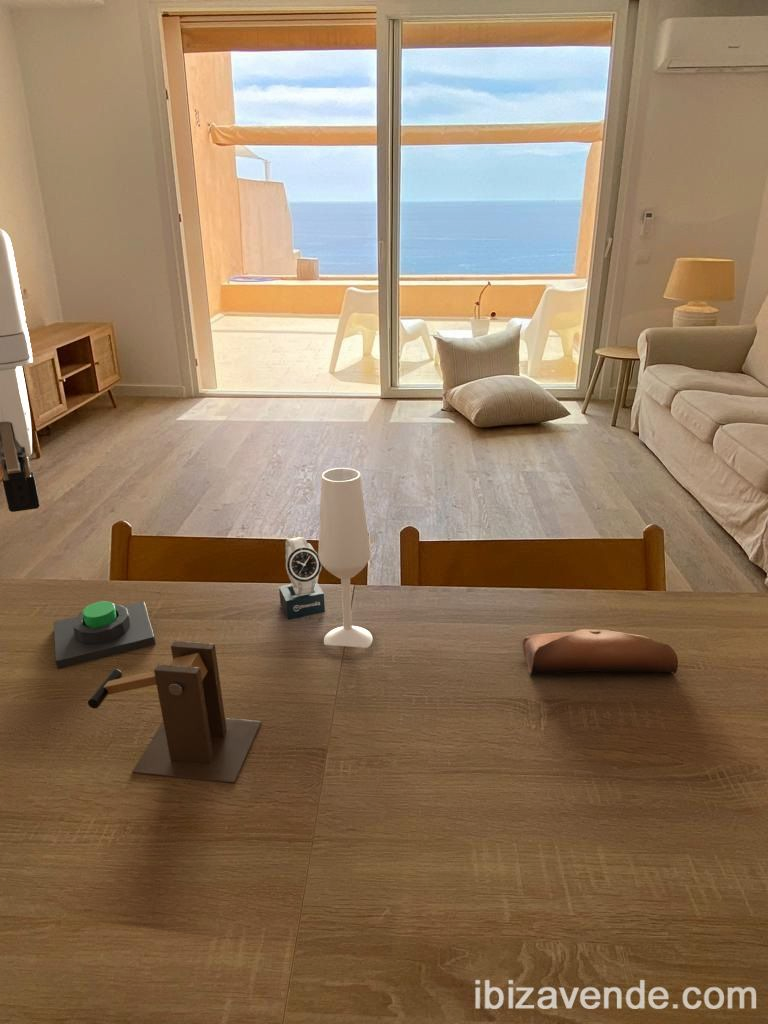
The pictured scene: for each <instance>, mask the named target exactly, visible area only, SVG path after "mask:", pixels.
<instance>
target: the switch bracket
mask: <svg viewBox="0 0 768 1024" xmlns="http://www.w3.org/2000/svg"><path fill="white" fill-rule="evenodd" d="M170 649H171V656H172V661H173V660H174V659H175V658H177V657H181V656H186V655H191V654H195V653H199V655H200V657H201V659H202V661H203V663H204V665H205V667H206V669H207V670H208V672H207V674H206V675H205V677H204V679H203V680H202V678H201V671H200V668H199V667H186V666H173V665H171V664H159V663H158V664H157V665H156V667H155V668H153V671H154V674H155V679H156V684H157V685H156V690H157V695H158V700H159V705H160V711H161V716H162V722H161V724H160V726H159V727H158V730H157V731H156V732H155V734H154V736H153V738H152V739H151V740H150V742H149V743H148V746H147V747H146V748H145V750H144V751H143V753H142V755H141V757H140V758H139V760H138V762H137V763H136V765H135V766H134V767H133V769H132V771H131V773H132V774H134V775H143V776H153V777H163V778H173V779H183V780H191V781H192V780H193V781H203V782H213V783H223V784H236V782H237V780H238V777H239V775H240V773H241V770H242V768H243V766H244V764H245V761H246V759H247V757H248V755H249V752H250V750H251V747H252V745H253V743H254V741H255V738H256V737H257V734H258V732H259V730H260V728H261V725H262V721H261V720H251V719H250V720H249V719H241V718H240V719H237V718H229V717H228V718H226V716H225V709H224V701H223V695H222V694H223V693H222V687H221V681H220V671H219V663H218V658H217V657H218V656H217V651H216V644H215V643H209V642H208V643H207V642H194V641H182V640H181V641H180V640H174V641H173V643H172V644H171V645H170Z"/></svg>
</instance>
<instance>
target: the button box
mask: <svg viewBox="0 0 768 1024" xmlns="http://www.w3.org/2000/svg"><path fill="white" fill-rule="evenodd" d="M113 604H114V606H115V611H116V615H117V618H116V620H115V621H114V622H112V623H110V624H108V625H106V626H101V627H97V628H95V627H87V626H86V625H85V622H84V617H83V611H80V612H79V613H78V614H77V615H76V616H72V617H67V618H63V619H59V620H54V621H53V635H54V636H53V637H54V639H53V640H54V654H55V655H54V657H55V664H56V667H57V670H60V669H64V668H68V667H72V666H76V665H80V664H84V663H87V662H91V661H96V660H100V659H103V658H109V657H111V656H115V655H120V654H124V653H127V652H131V651H136V650H140V649H143V648H147V647H151V646H156V645H157V644H156V639H155V635H154V631H153V628H152V627H153V626H152V624H151V620H150V617H149V613H148V610H147V606H146V603H145V600H143V601H138V602H133V603H128V604H124V605H120V604H118V603H113Z"/></svg>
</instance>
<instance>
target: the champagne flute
mask: <svg viewBox="0 0 768 1024" xmlns="http://www.w3.org/2000/svg"><path fill="white" fill-rule="evenodd" d="M320 481H321V482H320V505H319V507H320V508H319V529H318V532H319V533H318V551H317V554H318V558H319V560H320V562H321V566H322V567H323V568H324V569H325V570H326V571H327V572H328V573H330V574H331V575H333V576H334V577H336V578H337V579H340V585H341V586H340V587H341V604H342V605H341V606H342V626H338V627H335V628H333V629H331V630H330V631H328V632H327V633H326V634H325V635H324V637H323V644H324V645H325V646H337V647H349V648H351V647H352V648H365V649H369V648H370V647H371V645H372V643H373V641H374V638H373V635H372V633H371V632H370V631H369V630H367V629H366V628H363V627H361V626H357V625H353V617H352V615H353V614H352V594H351V593H352V592H351V579H352V578H354V577H355V576H356V575H359V573H360V572H362V571H363V569H365V568H366V566H367V564H369V561H370V560H371V555H372V552H371V546H370V545H371V544H370V537H369V529H368V523H367V522H368V521H367V513H366V507H365V499H364V492H363V484H362V476H361V472H360V471H359V470H357V469H355V468H351V467H336V468H335V467H334V468H330V469H327V470H325V471H324V472H322V473H321V480H320Z"/></svg>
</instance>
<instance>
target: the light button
mask: <svg viewBox="0 0 768 1024" xmlns="http://www.w3.org/2000/svg"><path fill="white" fill-rule="evenodd" d="M114 604H115V603H113V602H111V601H105V600H102V601H101V600H100V601H95V602H93V603H90V604H89V605H87V606H86V607H84V609H83V610H82V612H83V617H84V622H85V625H86V626H87V627H95V628H97V627H101V626H106V625H108V624H110V623H112V622H114V621H115V620H116V618H117V615H116V611H115V606H114Z"/></svg>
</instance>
